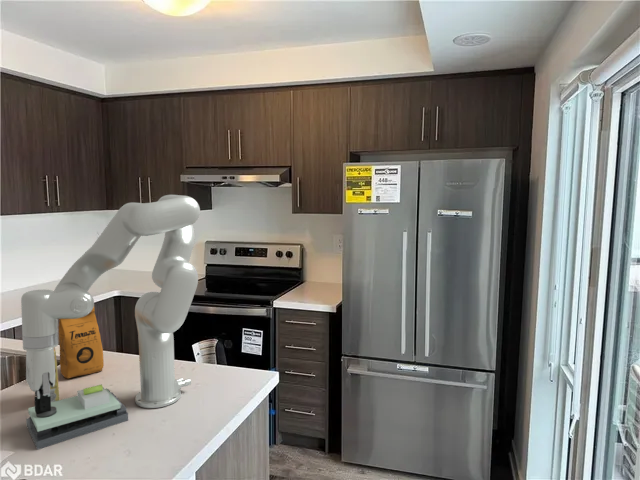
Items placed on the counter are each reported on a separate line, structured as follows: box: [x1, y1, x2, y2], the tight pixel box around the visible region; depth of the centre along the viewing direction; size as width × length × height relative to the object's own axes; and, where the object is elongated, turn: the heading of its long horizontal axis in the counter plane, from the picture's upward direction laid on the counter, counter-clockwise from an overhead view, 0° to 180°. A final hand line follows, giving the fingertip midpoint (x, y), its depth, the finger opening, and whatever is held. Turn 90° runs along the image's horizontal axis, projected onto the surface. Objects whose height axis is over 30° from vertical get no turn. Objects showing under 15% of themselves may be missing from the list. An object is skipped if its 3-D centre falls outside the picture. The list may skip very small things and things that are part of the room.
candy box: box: [50, 347, 61, 402], centre depth 133 cm, size 9×4×15 cm, turn 33°
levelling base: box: [25, 391, 129, 450], centre depth 121 cm, size 21×14×3 cm, turn 131°
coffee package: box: [58, 306, 105, 379], centre depth 151 cm, size 10×12×22 cm
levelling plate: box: [27, 384, 123, 432], centre depth 120 cm, size 20×12×5 cm, turn 131°
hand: (43, 411), depth 115 cm, fingers closed
